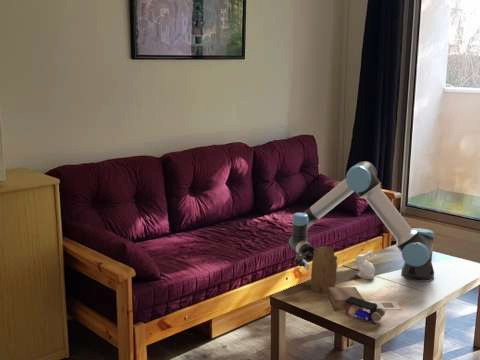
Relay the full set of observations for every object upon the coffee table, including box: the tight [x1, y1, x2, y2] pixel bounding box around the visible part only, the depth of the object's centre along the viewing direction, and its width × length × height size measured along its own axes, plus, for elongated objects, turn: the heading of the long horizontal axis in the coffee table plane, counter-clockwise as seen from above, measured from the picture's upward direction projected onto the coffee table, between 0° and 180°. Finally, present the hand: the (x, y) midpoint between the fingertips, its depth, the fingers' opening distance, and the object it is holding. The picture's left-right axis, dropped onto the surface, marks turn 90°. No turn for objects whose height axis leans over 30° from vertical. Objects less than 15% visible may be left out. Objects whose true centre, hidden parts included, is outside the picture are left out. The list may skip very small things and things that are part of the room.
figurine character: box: [344, 296, 386, 325], centre depth 234 cm, size 7×8×15 cm
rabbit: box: [355, 249, 376, 280], centre depth 278 cm, size 12×9×12 cm
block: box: [310, 245, 338, 294], centre depth 260 cm, size 11×8×20 cm
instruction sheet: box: [365, 300, 402, 311], centre depth 247 cm, size 15×8×1 cm, turn 94°
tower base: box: [327, 286, 364, 312], centre depth 247 cm, size 12×13×5 cm
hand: (322, 266), depth 261 cm, fingers open, 13 cm apart
